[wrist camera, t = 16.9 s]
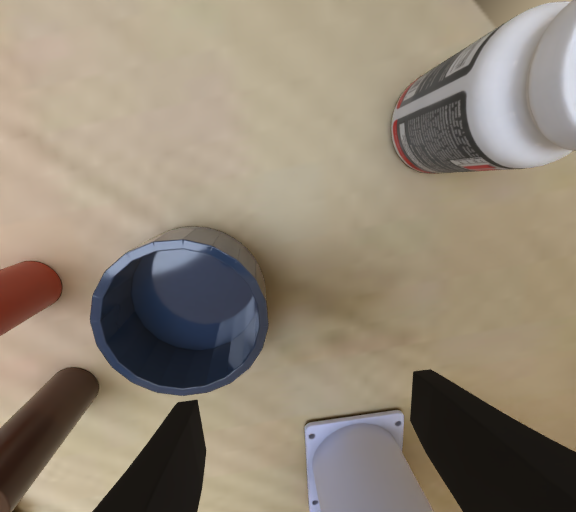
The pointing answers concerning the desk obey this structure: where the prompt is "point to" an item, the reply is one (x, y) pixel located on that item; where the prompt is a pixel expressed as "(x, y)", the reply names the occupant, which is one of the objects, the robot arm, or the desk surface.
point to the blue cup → (182, 312)
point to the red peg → (26, 292)
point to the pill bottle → (496, 99)
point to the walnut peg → (41, 431)
